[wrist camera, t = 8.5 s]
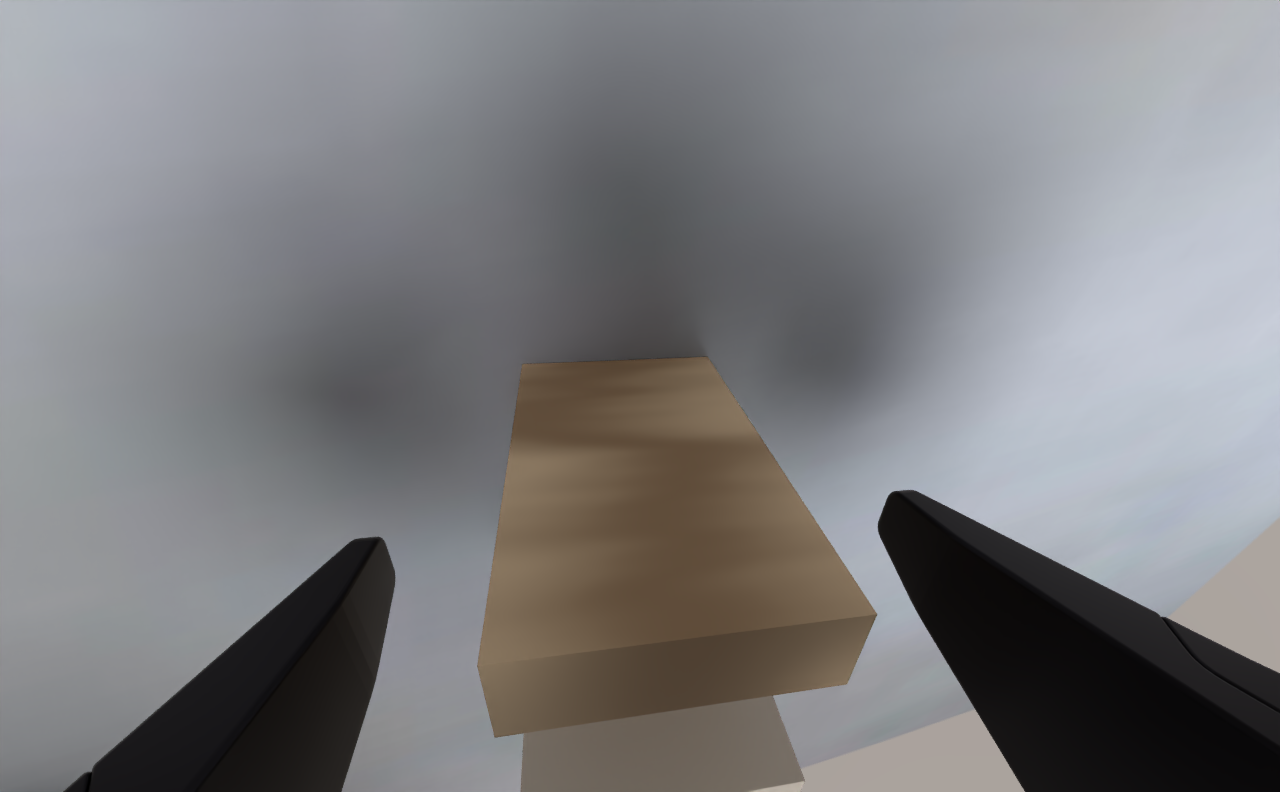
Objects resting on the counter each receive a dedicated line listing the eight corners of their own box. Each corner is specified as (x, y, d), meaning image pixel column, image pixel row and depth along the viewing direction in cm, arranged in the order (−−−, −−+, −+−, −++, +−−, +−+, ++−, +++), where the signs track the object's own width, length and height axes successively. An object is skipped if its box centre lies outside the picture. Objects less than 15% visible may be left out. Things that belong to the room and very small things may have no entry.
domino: (540, 536, 15) (527, 869, 8) (536, 499, 15) (518, 833, 8) (689, 523, 16) (788, 819, 9) (693, 486, 15) (804, 780, 8)
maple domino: (528, 416, 13) (495, 737, 6) (522, 363, 12) (477, 666, 5) (702, 406, 14) (846, 684, 7) (707, 356, 13) (876, 613, 6)
